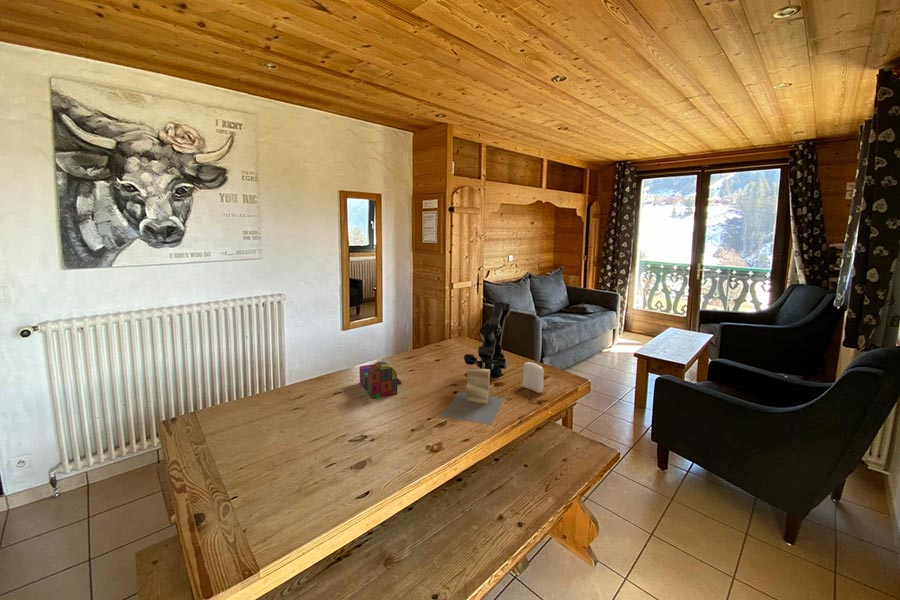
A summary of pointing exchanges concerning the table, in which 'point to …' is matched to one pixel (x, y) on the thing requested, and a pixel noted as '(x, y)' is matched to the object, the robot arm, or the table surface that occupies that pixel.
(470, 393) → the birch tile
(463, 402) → the rubber mat
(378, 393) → the block puzzle
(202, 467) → the table surface
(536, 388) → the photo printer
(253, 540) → the table surface
